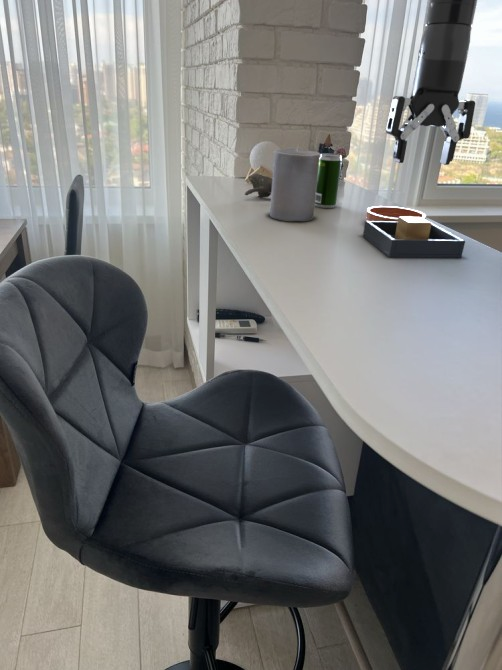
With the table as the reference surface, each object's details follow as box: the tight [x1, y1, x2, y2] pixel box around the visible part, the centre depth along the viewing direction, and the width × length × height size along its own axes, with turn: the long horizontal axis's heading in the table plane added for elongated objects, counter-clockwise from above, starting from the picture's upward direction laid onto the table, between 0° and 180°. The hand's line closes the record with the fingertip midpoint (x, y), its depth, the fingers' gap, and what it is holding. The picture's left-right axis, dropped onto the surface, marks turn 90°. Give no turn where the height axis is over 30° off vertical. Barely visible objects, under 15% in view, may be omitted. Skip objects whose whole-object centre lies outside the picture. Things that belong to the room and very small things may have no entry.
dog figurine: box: [244, 173, 272, 198], centre depth 127 cm, size 12×6×7 cm, turn 91°
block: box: [394, 217, 433, 239], centre depth 94 cm, size 4×4×4 cm
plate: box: [364, 205, 427, 222], centre depth 108 cm, size 12×12×3 cm
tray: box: [362, 220, 466, 259], centre depth 94 cm, size 14×14×3 cm
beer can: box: [315, 152, 343, 209], centre depth 121 cm, size 5×5×12 cm
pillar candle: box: [269, 144, 321, 222], centre depth 108 cm, size 10×10×15 cm
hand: (422, 163), depth 89 cm, fingers open, 8 cm apart
